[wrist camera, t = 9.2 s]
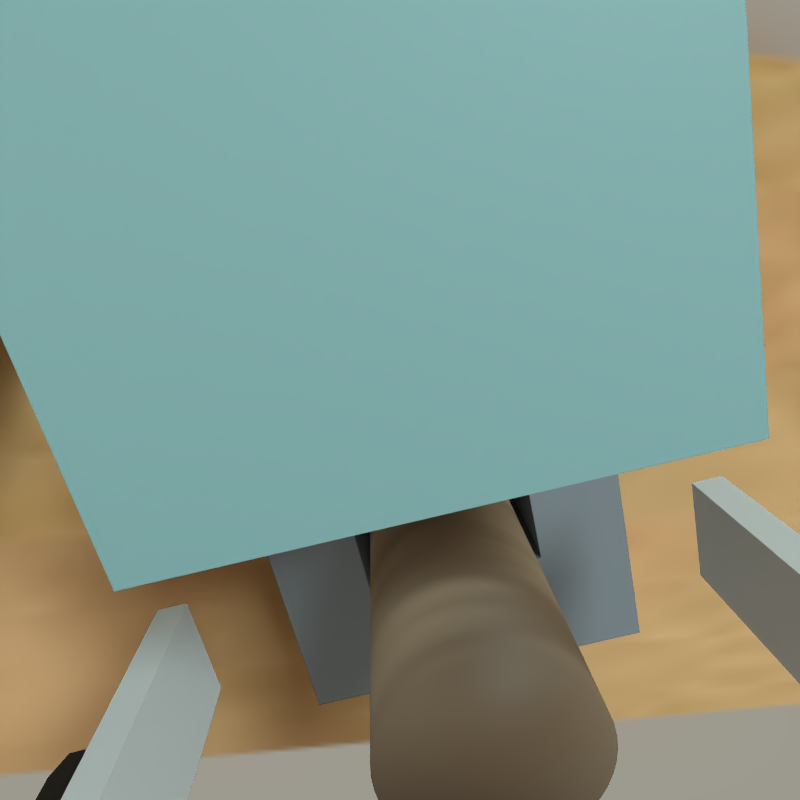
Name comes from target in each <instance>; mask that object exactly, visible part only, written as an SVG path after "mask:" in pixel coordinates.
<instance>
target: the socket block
mask: <svg viewBox="0 0 800 800" xmlns="http://www.w3.org/2000/svg"><path fill="white" fill-rule="evenodd" d="M514 501H515V504H514V505H511V506H512V508H513V510H514V512H515V514H516V516H517V518H518V520H519V522H520V525H521V527H522V529H523V531H524V533H525V535H526V537H527V539H528V542H529V544H530V546H531V548H532V550H533V552H534V554H535V556H536V558H537V561H538V563H539V565H540V567H541V569H542V571H543V573H544V575H545V578H546V580H547V582H548V584H549V586H550V588H551V590H552V592H553V594H554V597H555V599H556V601H557V603H558V605H559V607H560V609H561V611H562V614H563V616H564V618H565V620H566V622H567V624H568V626H569V628H570V630H571V633H572V635H573V637H574V639H575V641H576V643H577V645H578V646H582V645H586V644H591V643H595V642H599V641H604V640H608V639H613V638H617V637H622V636H626V635H630V634H635V633H639V632H640V631H639V624H638V617H637V610H636V602H635V595H634V588H633V581H632V573H631V566H630V559H629V552H628V544H627V537H626V530H625V523H624V516H623V508H622V501H621V494H620V487H619V479H618V474H616V475H611V476H607V477H603V478H599V479H594V480H590V481H586V482H581V483H577V484H573V485H569V486H564V487H560V488H556V489H551V490H547V491H543V492H539V493H534V494H530V495H526V496H521V497H517V498H514ZM268 558H269V561H270V564H271V566H272V569H273V572H274V575H275V578H276V581H277V584H278V587H279V589H280V592H281V595H282V598H283V601H284V604H285V607H286V610H287V613H288V615H289V618H290V621H291V624H292V627H293V630H294V633H295V636H296V639H297V641H298V644H299V647H300V650H301V653H302V656H303V659H304V662H305V664H306V667H307V670H308V673H309V676H310V679H311V682H312V685H313V688H314V690H315V693H316V696H317V699H318V702H319V705H321V704H325V703H330V702H334V701H338V700H343V699H347V698H352V697H356V696H361V695H365V694H369V693H370V532H367V533H363V534H359V535H354V536H350V537H346V538H341V539H337V540H333V541H329V542H324V543H320V544H316V545H312V546H307V547H303V548H299V549H294V550H290V551H286V552H282V553H277V554H273V555H269V556H268Z"/></svg>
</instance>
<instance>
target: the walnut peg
mask: <svg viewBox="0 0 800 800" xmlns="http://www.w3.org/2000/svg"><path fill="white" fill-rule="evenodd" d="M617 752H618V743H617V734H616V730H615V726H614V722H613V720H612V718H611V715H610V713H609V711H608V709H607V707H606V705H605V703H604V700H603V698H602V696H601V694H600V692H599V690H598V688H597V686H596V683H595V681H594V679H593V677H592V675H591V673H590V671H589V669H588V667H587V664H586V662H585V660H584V658H583V656H582V654H581V652H580V650H579V647H578V645H577V643H576V641H575V639H574V637H573V635H572V633H571V630H570V628H569V626H568V624H567V622H566V620H565V618H564V616H563V614H562V611H561V609H560V607H559V605H558V603H557V601H556V599H555V597H554V594H553V592H552V590H551V588H550V586H549V584H548V582H547V580H546V578H545V575H544V573H543V571H542V569H541V567H540V565H539V563H538V561H537V558H536V556H535V554H534V552H533V550H532V548H531V546H530V544H529V542H528V539H527V537H526V535H525V533H524V531H523V529H522V527H521V525H520V522H519V520H518V518H517V516H516V514H515V512H514V510H513V508H512V506H511V503H510V501H509V500H504V501H500V502H496V503H491V504H487V505H483V506H479V507H474V508H470V509H466V510H461V511H457V512H453V513H449V514H444V515H440V516H436V517H431V518H427V519H423V520H419V521H414V522H410V523H406V524H401V525H397V526H393V527H389V528H384V529H380V530H376V531H371V532H370V766H371V778H372V783H373V787H374V790H375V793H376V795H377V797H378V800H599V799H600V798H601V796H602V795H603V793H604V792H605V790H606V788H607V787H608V785H609V782H610V780H611V778H612V775H613V772H614V769H615V765H616V761H617Z"/></svg>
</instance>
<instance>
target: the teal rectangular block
mask: <svg viewBox="0 0 800 800" xmlns="http://www.w3.org/2000/svg"><path fill="white" fill-rule="evenodd" d="M0 336H1V338H2V341H3V343H4V345H5V347H6V350H7V352H8V354H9V356H10V359H11V361H12V363H13V365H14V368H15V370H16V372H17V374H18V377H19V379H20V381H21V383H22V386H23V388H24V390H25V392H26V395H27V397H28V399H29V401H30V404H31V406H32V408H33V410H34V413H35V415H36V417H37V419H38V421H39V424H40V426H41V428H42V430H43V433H44V435H45V437H46V439H47V442H48V444H49V446H50V448H51V451H52V453H53V455H54V457H55V460H56V462H57V464H58V466H59V469H60V471H61V473H62V475H63V478H64V480H65V482H66V484H67V487H68V489H69V491H70V493H71V496H72V498H73V500H74V502H75V505H76V507H77V509H78V511H79V514H80V516H81V518H82V520H83V523H84V525H85V527H86V529H87V532H88V534H89V536H90V538H91V541H92V543H93V545H94V547H95V550H96V552H97V554H98V556H99V559H100V561H101V563H102V565H103V568H104V570H105V572H106V574H107V577H108V579H109V581H110V583H111V586H112V588H113V590H114V591H119V590H123V589H127V588H132V587H136V586H140V585H144V584H149V583H153V582H157V581H162V580H166V579H170V578H174V577H179V576H183V575H187V574H192V573H196V572H200V571H204V570H209V569H213V568H217V567H222V566H226V565H230V564H234V563H239V562H243V561H247V560H252V559H256V558H260V557H264V556H269V555H273V554H277V553H282V552H286V551H290V550H294V549H299V548H303V547H307V546H312V545H316V544H320V543H324V542H329V541H333V540H337V539H341V538H346V537H350V536H354V535H359V534H363V533H367V532H371V531H376V530H380V529H384V528H389V527H393V526H397V525H401V524H406V523H410V522H414V521H419V520H423V519H427V518H431V517H436V516H440V515H444V514H449V513H453V512H457V511H461V510H466V509H470V508H474V507H479V506H483V505H487V504H491V503H496V502H500V501H504V500H509V499H513V498H517V497H521V496H526V495H530V494H534V493H539V492H543V491H547V490H551V489H556V488H560V487H564V486H569V485H573V484H577V483H581V482H586V481H590V480H594V479H599V478H603V477H607V476H611V475H616V474H620V473H624V472H629V471H633V470H637V469H641V468H646V467H650V466H654V465H659V464H663V463H667V462H671V461H676V460H680V459H684V458H688V457H693V456H697V455H701V454H706V453H710V452H714V451H718V450H723V449H727V448H731V447H736V446H740V445H744V444H748V443H753V442H757V441H761V440H766V439H769V428H768V409H767V391H766V372H765V353H764V335H763V316H762V298H761V279H760V260H759V242H758V223H757V204H756V186H755V167H754V149H753V130H752V111H751V93H750V74H749V55H748V37H747V19H746V0H0Z"/></svg>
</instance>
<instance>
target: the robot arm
mask: <svg viewBox="0 0 800 800" xmlns="http://www.w3.org/2000/svg"><path fill="white" fill-rule="evenodd" d="M692 490H693V500H694V510H695V521H696V531H697V542H698V552H699V563H700V573H701V576H702V577H703V578H704V579H705V580H706V581H707V583H708V584H709V585H710V586H711V587H712V588H713V589H714V590H715V591H716V592H717V594H718V595H719V596H720V597H721V598H722V599H723V600H724V601H725V602H726V603H727V605H728V606H729V607H730V608H731V609H732V610H733V611H734V612H735V613H736V614H737V616H738V617H739V618H740V619H741V620H742V621H743V622H744V623H745V624H746V625H747V626H748V628H749V629H750V630H751V631H752V632H753V633H754V634H755V635H756V636H757V637H758V639H759V640H760V641H761V642H762V643H763V644H764V645H765V646H766V647H767V648H768V650H769V651H770V652H771V653H772V654H773V655H774V656H775V657H776V658H777V659H778V661H779V662H780V663H781V664H782V665H783V666H784V667H785V668H786V669H787V670H788V672H789V673H790V674H791V675H792V676H793V677H794V678H795V679H796V680H797V681H798V682H799V684H800V535H799V534H798V533H797V532H795V531H794V530H793V529H791V528H790V527H789V526H787V525H786V524H785V523H783V522H782V521H781V520H779V519H778V518H777V517H775V516H774V515H773V514H772V513H770V512H769V511H768V510H766V509H765V508H764V507H762V506H761V505H760V504H758V503H757V502H756V501H754V500H753V499H752V498H750V497H749V496H748V495H746V494H745V493H744V492H742V491H741V490H740V489H738V488H737V487H736V486H734V485H733V484H732V483H731V482H729V481H728V480H727V479H725V478H724V477H723V476H720V477H715V478H711V479H707V480H703V481H698V482H694V483H692ZM220 690H221V686H220V683H219V681H218V678H217V676H216V674H215V671H214V669H213V666H212V664H211V661H210V659H209V656H208V654H207V651H206V649H205V647H204V644H203V642H202V639H201V637H200V634H199V632H198V629H197V627H196V624H195V622H194V620H193V617H192V615H191V612H190V610H189V607H188V605H187V603H185V604H181V605H176V606H172V607H168V608H164V609H160V610H157V612H156V614H155V616H154V618H153V620H152V622H151V624H150V626H149V628H148V630H147V632H146V634H145V636H144V638H143V640H142V642H141V644H140V646H139V648H138V650H137V651H136V653H135V655H134V657H133V659H132V661H131V663H130V665H129V667H128V669H127V671H126V673H125V675H124V677H123V679H122V681H121V683H120V685H119V687H118V689H117V691H116V693H115V695H114V696H113V698H112V700H111V702H110V704H109V706H108V708H107V710H106V712H105V714H104V716H103V718H102V720H101V722H100V724H99V726H98V728H97V730H96V732H95V734H94V736H93V738H92V740H91V741H90V743H89V745H88V747H87V749H86V750H81V751H77V752H73V753H70V754H69V755H68V756H67V757H66V758H65V759H64V760H63V761H62V762H61V764H60V765H59V766H58V767H57V768H56V769H55V770H54V771H53V772H52V774H51V775H50V776H49V777H48V778H47V780H46V782H45V784H44V786H43V788H42V789H41V791H40V793H39V795H38V796H37V798H36V800H188V798H189V794H190V791H191V788H192V784H193V781H194V778H195V774H196V770H197V767H198V764H199V761H200V757H201V754H202V751H203V747H204V744H205V740H206V737H207V734H208V730H209V727H210V724H211V720H212V717H213V714H214V710H215V707H216V703H217V700H218V697H219V693H220Z"/></svg>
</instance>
